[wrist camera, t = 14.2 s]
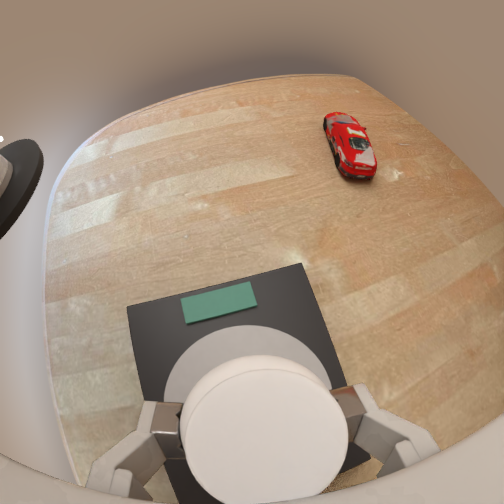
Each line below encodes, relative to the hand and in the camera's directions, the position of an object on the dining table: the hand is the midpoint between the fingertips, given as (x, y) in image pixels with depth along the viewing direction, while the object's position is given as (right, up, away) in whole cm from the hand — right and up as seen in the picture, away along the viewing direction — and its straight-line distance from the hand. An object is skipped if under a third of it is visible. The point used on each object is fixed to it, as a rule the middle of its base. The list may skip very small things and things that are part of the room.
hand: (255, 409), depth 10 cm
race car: (+13, +20, +27) cm, 36 cm away
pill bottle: (0, -3, +5) cm, 6 cm away
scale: (-1, -6, +12) cm, 14 cm away
